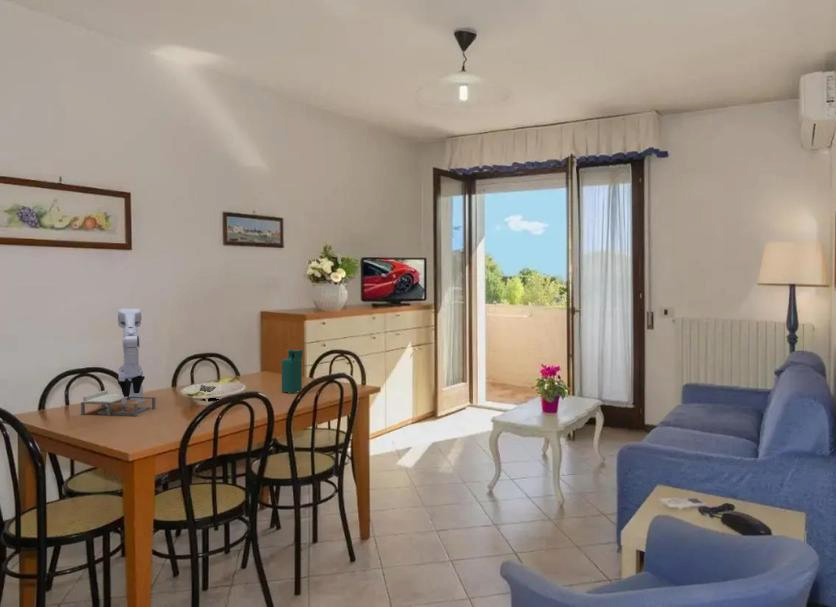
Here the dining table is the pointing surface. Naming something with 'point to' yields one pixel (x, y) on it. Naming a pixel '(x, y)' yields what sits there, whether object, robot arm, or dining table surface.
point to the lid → (104, 397)
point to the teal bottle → (292, 371)
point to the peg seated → (116, 406)
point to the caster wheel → (207, 388)
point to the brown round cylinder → (131, 407)
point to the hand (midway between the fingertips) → (131, 394)
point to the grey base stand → (123, 411)
